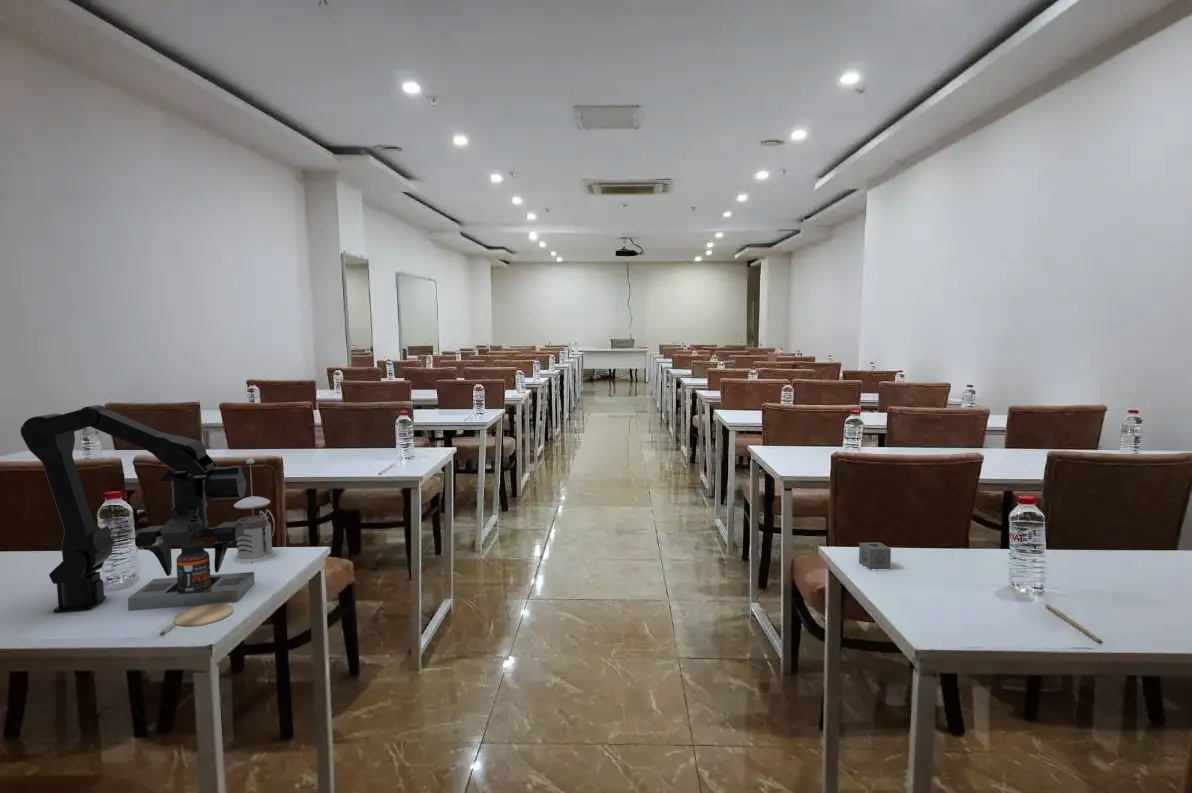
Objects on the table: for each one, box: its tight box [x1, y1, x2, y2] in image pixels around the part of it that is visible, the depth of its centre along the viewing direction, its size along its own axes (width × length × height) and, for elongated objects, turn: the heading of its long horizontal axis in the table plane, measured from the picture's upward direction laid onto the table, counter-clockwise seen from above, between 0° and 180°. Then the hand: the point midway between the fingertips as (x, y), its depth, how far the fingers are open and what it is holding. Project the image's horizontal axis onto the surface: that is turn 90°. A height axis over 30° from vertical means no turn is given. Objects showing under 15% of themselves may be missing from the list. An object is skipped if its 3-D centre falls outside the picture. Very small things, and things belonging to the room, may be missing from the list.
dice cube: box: [858, 541, 892, 570], centre depth 151 cm, size 5×5×5 cm
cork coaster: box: [173, 603, 235, 627], centre depth 126 cm, size 10×10×1 cm
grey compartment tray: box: [127, 571, 256, 611], centre depth 136 cm, size 20×11×2 cm, turn 101°
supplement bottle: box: [176, 540, 211, 592], centre depth 135 cm, size 6×6×11 cm
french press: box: [233, 458, 277, 564], centre depth 160 cm, size 10×12×25 cm
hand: (193, 573), depth 136 cm, fingers open, 9 cm apart
